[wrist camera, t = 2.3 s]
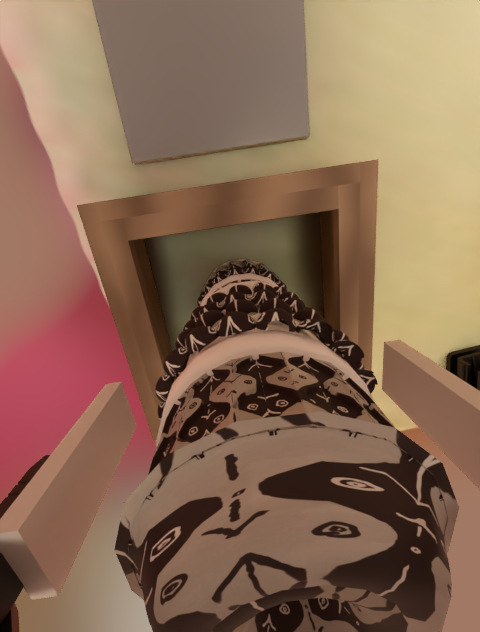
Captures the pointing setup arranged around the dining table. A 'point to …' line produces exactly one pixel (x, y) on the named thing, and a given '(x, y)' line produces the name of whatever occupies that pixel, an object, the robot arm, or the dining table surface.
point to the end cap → (466, 365)
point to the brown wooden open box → (224, 210)
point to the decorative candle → (282, 481)
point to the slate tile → (206, 73)
